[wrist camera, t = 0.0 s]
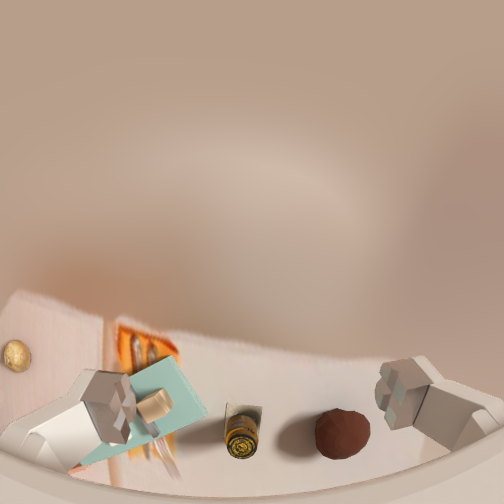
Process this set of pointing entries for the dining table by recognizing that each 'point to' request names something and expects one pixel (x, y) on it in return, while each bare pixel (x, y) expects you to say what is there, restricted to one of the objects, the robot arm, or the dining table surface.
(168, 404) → the scraper
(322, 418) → the muffin
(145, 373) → the board
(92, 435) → the robot arm
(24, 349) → the tan oval lump
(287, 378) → the dining table surface
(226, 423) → the condiment
